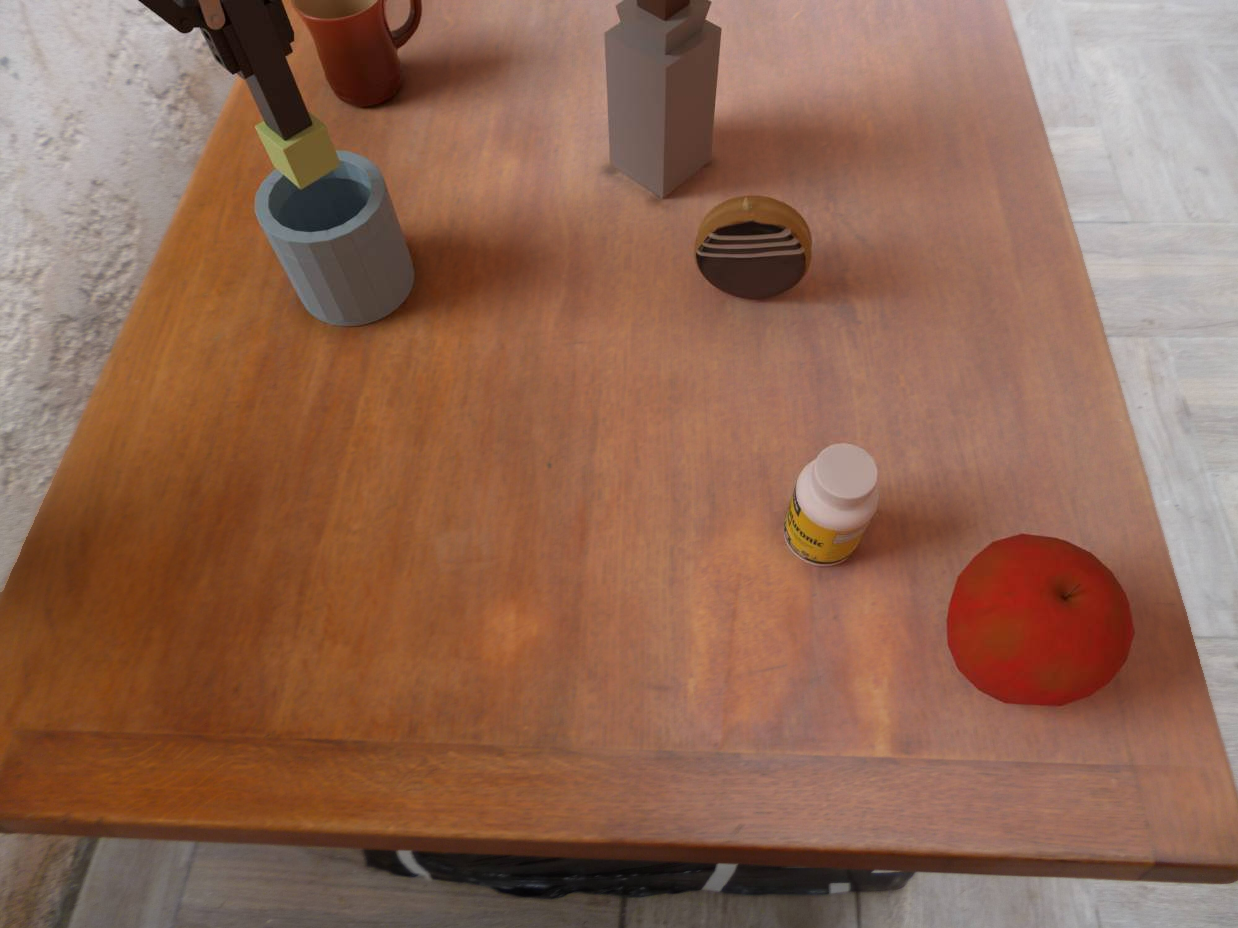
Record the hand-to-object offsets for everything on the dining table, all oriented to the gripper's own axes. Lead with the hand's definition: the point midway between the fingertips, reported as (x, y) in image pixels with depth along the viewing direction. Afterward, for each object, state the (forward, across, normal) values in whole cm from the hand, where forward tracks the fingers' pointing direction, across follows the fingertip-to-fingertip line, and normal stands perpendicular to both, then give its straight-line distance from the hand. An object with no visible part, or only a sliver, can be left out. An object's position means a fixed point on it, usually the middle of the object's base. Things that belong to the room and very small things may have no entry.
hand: (260, 60), depth 56 cm
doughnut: (+22, -23, +25) cm, 40 cm away
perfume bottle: (+22, -29, +9) cm, 37 cm away
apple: (+22, -11, +58) cm, 63 cm away
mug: (+22, -18, -20) cm, 35 cm away
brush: (+9, 0, 0) cm, 9 cm away
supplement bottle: (+22, -9, +44) cm, 50 cm away
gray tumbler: (+22, 0, 0) cm, 22 cm away
